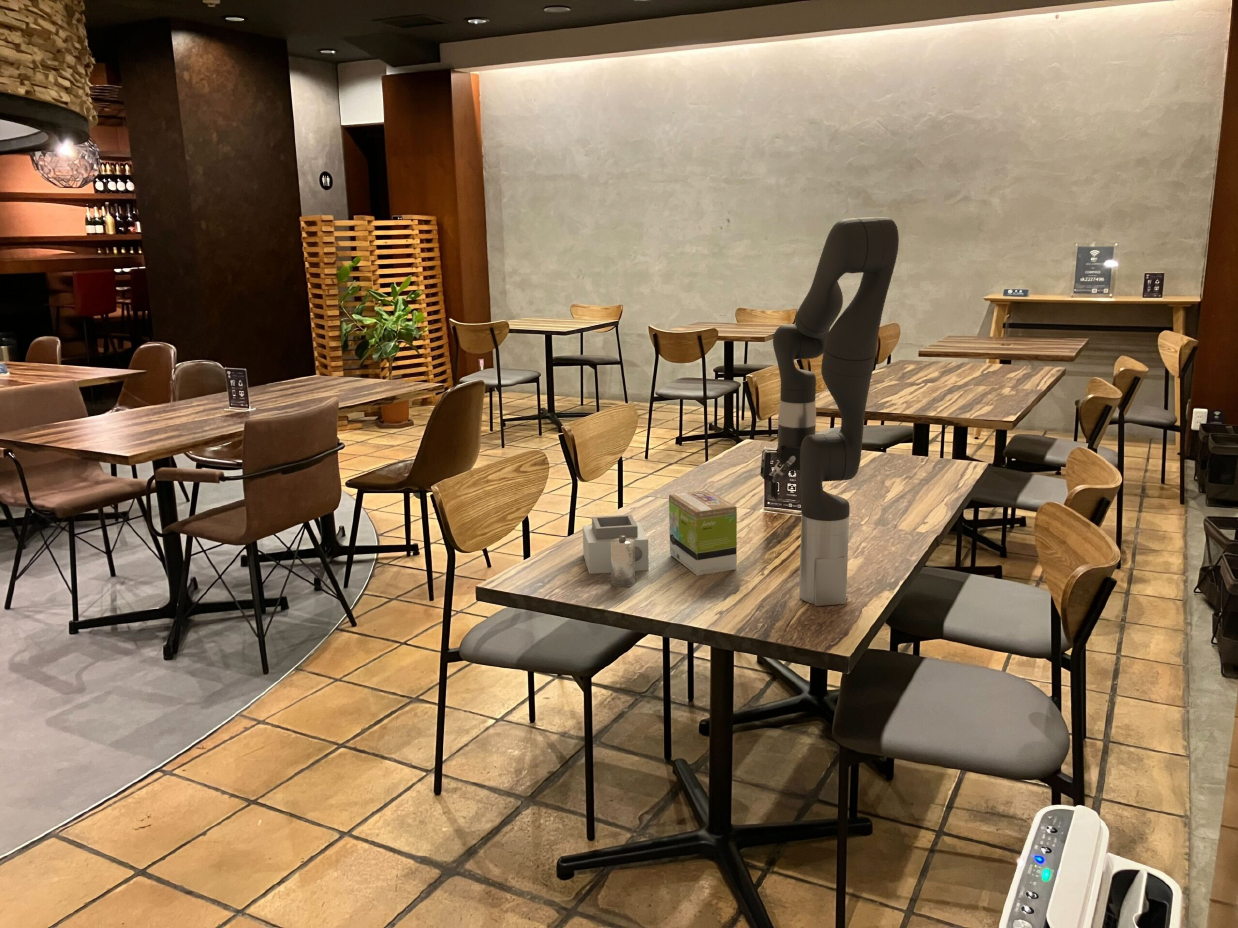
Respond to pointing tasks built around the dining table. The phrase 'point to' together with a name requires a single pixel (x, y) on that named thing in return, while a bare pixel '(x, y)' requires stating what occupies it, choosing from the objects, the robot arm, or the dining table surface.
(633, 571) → the spout can
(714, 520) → the tea box
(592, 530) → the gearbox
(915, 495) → the dining table surface
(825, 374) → the robot arm
